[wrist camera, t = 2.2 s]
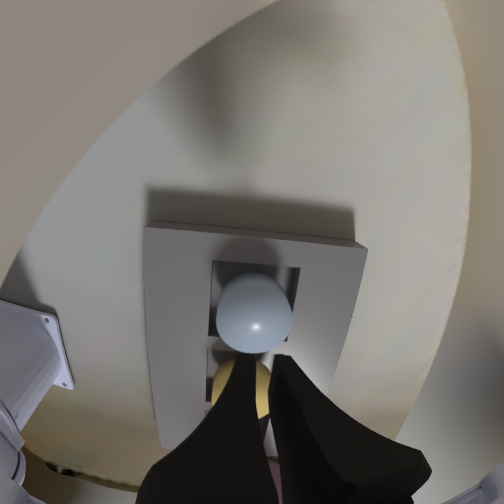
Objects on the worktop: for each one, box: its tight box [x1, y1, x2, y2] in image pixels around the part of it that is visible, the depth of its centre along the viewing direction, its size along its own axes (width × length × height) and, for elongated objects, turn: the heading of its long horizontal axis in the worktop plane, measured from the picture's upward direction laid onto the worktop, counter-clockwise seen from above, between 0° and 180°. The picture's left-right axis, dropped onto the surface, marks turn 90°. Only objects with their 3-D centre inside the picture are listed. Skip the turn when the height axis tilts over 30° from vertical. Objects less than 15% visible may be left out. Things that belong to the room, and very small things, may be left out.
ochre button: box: [212, 359, 271, 419], centre depth 17 cm, size 4×4×2 cm
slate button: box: [216, 272, 293, 353], centre depth 16 cm, size 4×4×2 cm
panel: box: [144, 221, 368, 456], centre depth 19 cm, size 13×20×2 cm, turn 174°
